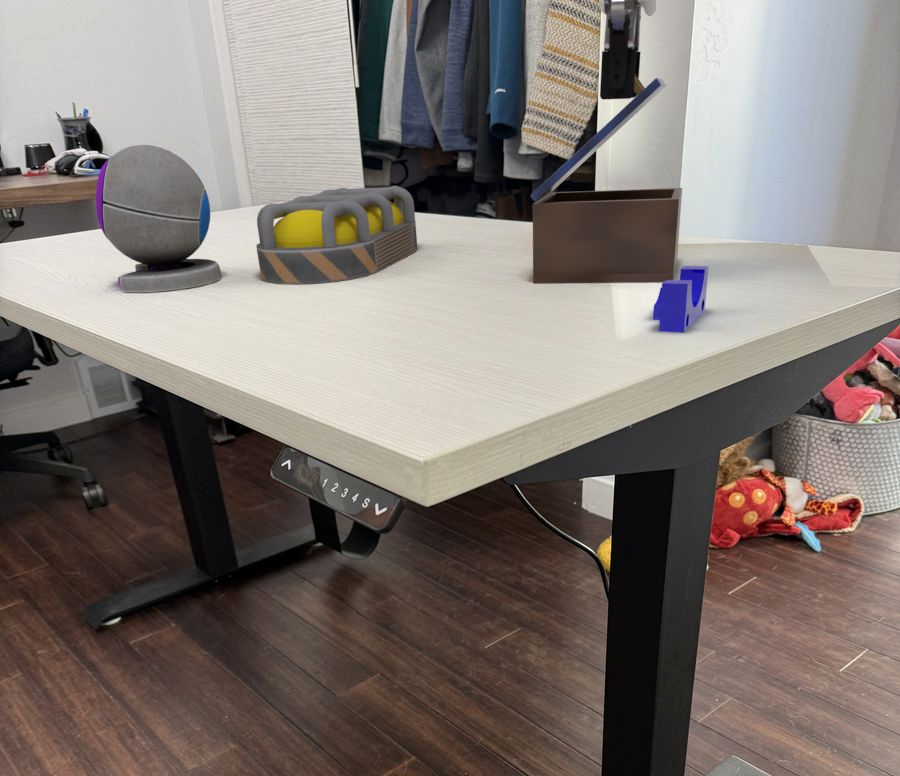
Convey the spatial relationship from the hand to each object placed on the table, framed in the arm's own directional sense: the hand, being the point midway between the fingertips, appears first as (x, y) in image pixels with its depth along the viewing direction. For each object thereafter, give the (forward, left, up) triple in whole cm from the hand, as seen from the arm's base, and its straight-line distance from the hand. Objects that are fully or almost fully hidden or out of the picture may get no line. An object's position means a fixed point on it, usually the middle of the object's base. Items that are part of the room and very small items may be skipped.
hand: (619, 96), depth 87 cm
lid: (+2, 0, -4) cm, 4 cm away
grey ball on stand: (+54, +3, -17) cm, 56 cm away
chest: (+1, 0, -17) cm, 17 cm away
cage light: (+36, -10, -17) cm, 41 cm away
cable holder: (-7, +25, -17) cm, 31 cm away
